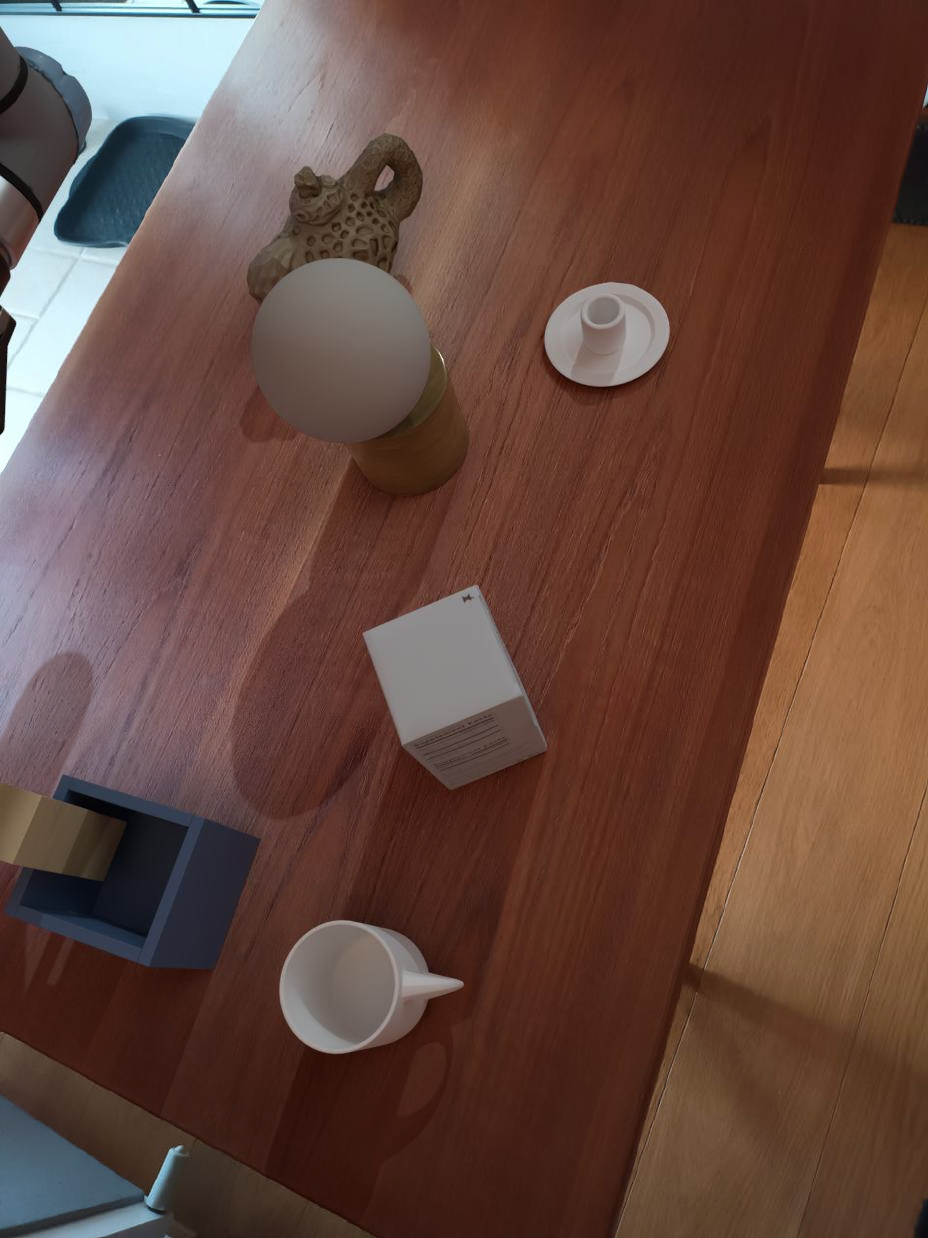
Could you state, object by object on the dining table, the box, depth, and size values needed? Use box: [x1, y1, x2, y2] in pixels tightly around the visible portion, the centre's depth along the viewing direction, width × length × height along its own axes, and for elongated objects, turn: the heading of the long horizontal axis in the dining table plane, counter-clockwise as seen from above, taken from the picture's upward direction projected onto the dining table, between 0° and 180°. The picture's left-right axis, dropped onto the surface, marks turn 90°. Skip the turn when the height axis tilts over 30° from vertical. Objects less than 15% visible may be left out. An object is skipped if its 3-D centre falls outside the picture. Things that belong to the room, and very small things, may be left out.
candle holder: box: [543, 281, 671, 388], centre depth 91 cm, size 12×12×4 cm
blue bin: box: [3, 773, 261, 970], centre depth 77 cm, size 13×11×11 cm
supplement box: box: [361, 584, 548, 791], centre depth 74 cm, size 10×9×17 cm
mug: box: [279, 919, 465, 1055], centre depth 70 cm, size 9×12×11 cm
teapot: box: [246, 132, 424, 307], centre depth 95 cm, size 21×12×15 cm, turn 129°
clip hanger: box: [0, 781, 127, 882], centre depth 74 cm, size 6×5×12 cm
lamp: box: [250, 258, 470, 497], centre depth 81 cm, size 15×14×25 cm
